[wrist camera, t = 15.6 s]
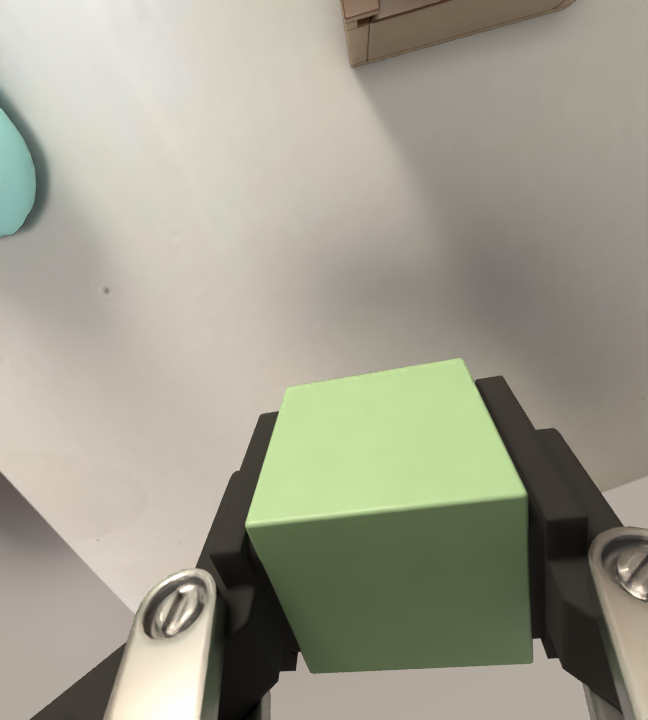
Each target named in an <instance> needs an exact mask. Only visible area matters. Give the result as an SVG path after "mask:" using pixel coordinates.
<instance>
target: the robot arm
mask: <svg viewBox="0 0 648 720" xmlns="http://www.w3.org/2000/svg"><path fill="white" fill-rule="evenodd" d="M475 385H476V387H477V389H478V391H479V393H480V395H481V397H482V399H483V401H484V403H485V406H486V408H487V410H488V412H489V414H490V416H491V418H492V420H493V422H494V424H495V426H496V428H497V431H498V433H499V435H500V437H501V439H502V441H503V443H504V445H505V447H506V449H507V451H508V454H509V456H510V458H511V460H512V462H513V464H514V466H515V468H516V470H517V472H518V474H519V476H520V479H521V481H522V483H523V485H524V487H525V489H526V491H527V493H528V516H529V533H528V543H529V572H530V602H531V631H532V639H536V638H541V641H542V643H543V646H544V649H545V652H546V655H547V657H548V659H549V658H559V660H560V662H561V665H562V668H563V669H564V670H566V671H567V672H569V673H570V674H571V675H573V676H574V677H576V678H577V679H578V680H580V681H581V682H582V683H583V687H584V692H585V697H586V700H587V705H588V709H589V714H590V719H591V720H648V529H643V528H638V527H624V526H623V524H622V523H621V521H620V520H619V519H618V517H617V516H616V514H615V513H614V511H613V510H612V509H611V507H610V506H609V504H608V503H607V501H606V500H605V498H604V497H603V495H602V494H601V492H600V491H599V489H598V488H597V487H596V485H595V484H594V482H593V481H592V479H591V478H590V476H589V475H588V473H587V472H586V471H585V469H584V468H583V466H582V465H581V463H580V462H579V460H578V459H577V457H576V456H575V455H574V453H573V452H572V450H571V449H570V447H569V446H568V444H567V443H566V442H565V440H564V439H563V437H562V436H561V434H560V433H559V432H558V431H557V430H556V429H554V428H549V429H541V430H535V428H534V427H533V425H532V423H531V422H530V420H529V418H528V417H527V415H526V414H525V412H524V410H523V409H522V407H521V405H520V404H519V402H518V400H517V399H516V397H515V396H514V394H513V392H512V391H511V389H510V387H509V386H508V384H507V382H506V381H505V379H504V378H503V376H496V377H489V378H483V379H477V380H476V381H475ZM278 414H279V411H277V412H271V413H265V414H261V415H260V417H259V419H258V422H257V425H256V427H255V430H254V433H253V435H252V438H251V441H250V444H249V446H248V449H247V452H246V454H245V457H244V460H243V463H242V465H241V468H240V471H236V472H234V473H233V474H232V476H231V478H230V480H229V483H228V485H227V488H226V490H225V493H224V495H223V498H222V501H221V503H220V506H219V508H218V511H217V513H216V516H215V519H214V521H213V524H212V526H211V529H210V532H209V534H208V537H207V539H206V542H205V544H204V547H203V550H202V552H201V555H200V557H199V560H198V562H197V565H196V568H189V569H183V570H180V571H178V572H175V573H173V574H171V575H169V576H168V577H166V578H165V579H163V580H162V581H160V582H159V583H158V584H157V585H156V586H155V587H154V588H153V589H152V590H150V591H149V593H148V594H147V595H146V597H145V598H144V599H143V601H142V602H141V604H140V606H139V608H138V610H137V612H136V615H135V617H134V620H133V624H132V627H131V630H130V634H129V637H128V640H127V642H126V643H124V644H123V645H122V646H121V647H120V648H118V649H117V650H116V651H115V652H113V653H112V654H111V655H110V656H109V657H107V658H106V659H105V660H103V661H102V662H101V663H100V664H98V665H97V666H96V667H95V668H93V669H92V670H91V671H90V672H88V673H87V674H86V675H85V676H83V677H82V678H81V679H80V680H78V681H77V682H76V683H75V684H74V685H72V686H71V687H70V688H68V689H67V690H66V691H65V692H63V693H62V694H61V695H60V696H59V697H57V698H56V699H55V700H54V701H52V702H51V703H50V704H49V705H47V706H46V707H45V708H44V709H43V710H41V711H40V712H39V713H37V714H36V715H35V716H34V717H32V718H31V719H30V720H270V700H271V699H270V697H271V696H270V689H271V688H272V687H273V686H274V685H275V684H276V683H277V682H278V678H279V672H280V671H296V664H297V656H298V652H301V651H300V650H301V649H300V646H299V644H298V642H297V640H296V637H295V635H294V633H293V631H292V628H291V626H290V624H289V622H288V619H287V617H286V615H285V613H284V611H283V608H282V606H281V604H280V602H279V599H278V597H277V595H276V593H275V590H274V588H273V586H272V584H271V581H270V579H269V577H268V575H267V572H266V570H265V568H264V566H263V563H262V561H261V560H260V559H259V557H258V555H257V552H256V550H255V548H254V546H253V543H252V541H251V539H250V537H249V535H248V532H247V530H246V527H245V523H246V519H247V516H248V513H249V509H250V506H251V503H252V500H253V496H254V493H255V490H256V486H257V483H258V480H259V476H260V473H261V470H262V466H263V463H264V460H265V457H266V453H267V450H268V447H269V443H270V440H271V437H272V433H273V430H274V427H275V423H276V420H277V417H278Z"/></svg>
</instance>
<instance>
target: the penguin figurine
mask: <svg viewBox="0 0 648 720" xmlns="http://www.w3.org/2000/svg"><path fill="white" fill-rule="evenodd" d="M35 192H36V178H35V168H34V163H33V161H32V158H31V154H30V152H29V150H28V148H27V145H26V143H25V141H24V139H23V138H22V136H21V134H20V133H19V132H18V130H17V129H16V127H15V126H14V124H13V123H12V122H11V120H10V119H9V118H8V116H7V115H6V114H5V112H4V111H3V110H2V109H1V107H0V237H1V236H3V235H12V234H13V233H15V232H16V231H17V230H18V229H19V228H20V227H21V226H22V225H23V223H24V221H25V219H26V217H27V215H28V214H29V212H30V211H31V209H32V207H33V204H34V201H35Z"/></svg>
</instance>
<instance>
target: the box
mask: <svg viewBox="0 0 648 720" xmlns="http://www.w3.org/2000/svg"><path fill="white" fill-rule="evenodd" d="M575 1H576V0H340V3H341V10H342V16H343V22H344V28H345V35H346V41H347V47H348V53H349V60H350V66H351V68H354V67H357V66H361V65H364V64H368V63H372V62H375V61H379V60H382V59H386V58H390V57H393V56H397V55H400V54H404V53H408V52H411V51H415V50H418V49H422V48H426V47H429V46H433V45H436V44H440V43H444V42H447V41H451V40H454V39H458V38H462V37H465V36H469V35H472V34H476V33H480V32H483V31H487V30H490V29H494V28H498V27H501V26H505V25H508V24H512V23H516V22H519V21H523V20H526V19H530V18H534V17H537V16H541V15H544V14H548V13H552V12H555V11H559V10H562V9H565V8H566V7H568V6H569V5H571V4H572V3H573V2H575Z"/></svg>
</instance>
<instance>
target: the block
mask: <svg viewBox="0 0 648 720" xmlns="http://www.w3.org/2000/svg"><path fill="white" fill-rule="evenodd" d="M245 527H246V530H247V532H248V535H249V537H250V539H251V541H252V543H253V546H254V548H255V550H256V552H257V555H258V557H259V559H260V560H261V561H262V563H263V566H264V568H265V570H266V572H267V575H268V577H269V579H270V581H271V584H272V586H273V588H274V590H275V593H276V595H277V597H278V599H279V602H280V604H281V606H282V608H283V611H284V613H285V615H286V617H287V619H288V622H289V624H290V626H291V628H292V631H293V633H294V635H295V637H296V640H297V642H298V644H299V646H300V649H301V650H300V651H301V653H302V655H303V658H304V660H305V662H306V664H307V667H308V669H309V671H310V672H311V673H313V674H315V673H338V672H358V671H381V670H401V669H402V670H403V669H423V668H444V667H468V666H489V665H511V664H530V663H532V662H533V639H532V631H531V602H530V572H529V543H528V533H529V516H528V493H527V491H526V489H525V487H524V485H523V483H522V481H521V479H520V476H519V474H518V472H517V470H516V468H515V466H514V464H513V462H512V460H511V458H510V456H509V454H508V451H507V449H506V447H505V445H504V443H503V441H502V439H501V437H500V435H499V433H498V431H497V428H496V426H495V424H494V422H493V420H492V418H491V416H490V414H489V412H488V410H487V408H486V406H485V403H484V401H483V399H482V397H481V395H480V393H479V391H478V389H477V387H476V385H475V383H474V381H473V378H472V376H471V374H470V372H469V370H468V368H467V366H466V364H465V362H464V360H463V359H462V358H457V359H451V360H445V361H439V362H433V363H428V364H422V365H416V366H410V367H404V368H398V369H392V370H386V371H381V372H375V373H369V374H363V375H357V376H351V377H345V378H339V379H334V380H328V381H322V382H316V383H310V384H304V385H298V386H292V387H288V388H286V390H285V394H284V397H283V400H282V404H281V407H280V410H279V414H278V417H277V420H276V423H275V427H274V430H273V433H272V437H271V440H270V443H269V447H268V450H267V453H266V457H265V460H264V463H263V466H262V470H261V473H260V476H259V480H258V483H257V486H256V490H255V493H254V496H253V500H252V503H251V506H250V509H249V513H248V516H247V519H246V523H245Z"/></svg>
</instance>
